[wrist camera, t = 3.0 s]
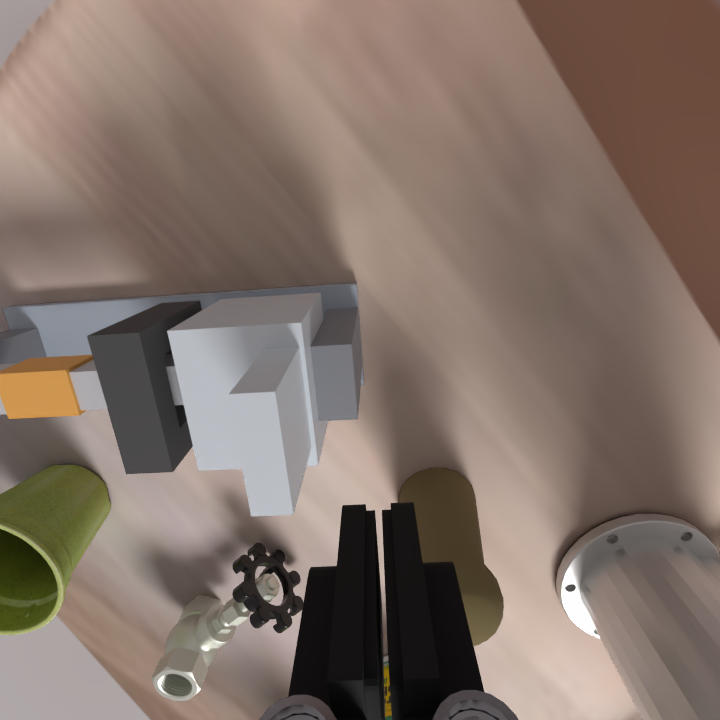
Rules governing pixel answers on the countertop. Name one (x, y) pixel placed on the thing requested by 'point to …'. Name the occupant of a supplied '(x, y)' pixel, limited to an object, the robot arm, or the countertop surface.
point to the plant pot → (45, 541)
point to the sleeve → (253, 392)
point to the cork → (456, 542)
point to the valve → (224, 622)
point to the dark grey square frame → (143, 387)
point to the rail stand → (81, 382)
